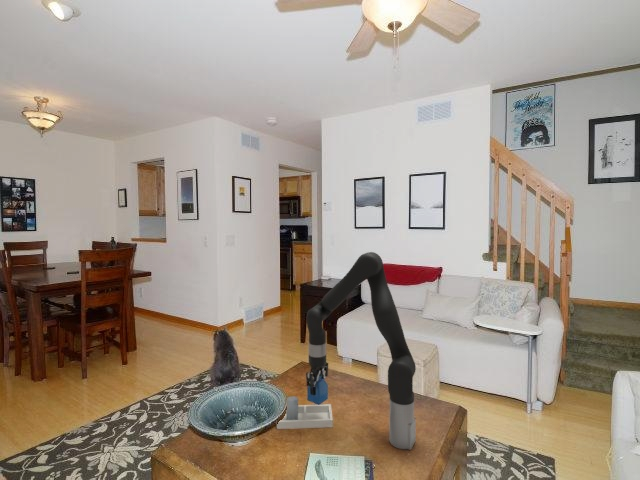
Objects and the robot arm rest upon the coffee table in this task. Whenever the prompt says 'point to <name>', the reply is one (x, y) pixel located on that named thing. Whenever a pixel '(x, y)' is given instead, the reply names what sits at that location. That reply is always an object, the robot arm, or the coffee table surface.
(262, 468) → the coffee table surface
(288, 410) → the grey rounded cylinder
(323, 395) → the perfume bottle
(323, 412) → the tray
